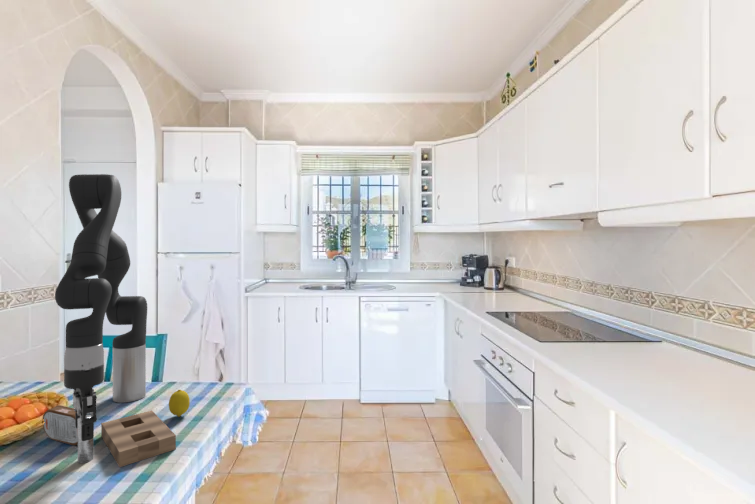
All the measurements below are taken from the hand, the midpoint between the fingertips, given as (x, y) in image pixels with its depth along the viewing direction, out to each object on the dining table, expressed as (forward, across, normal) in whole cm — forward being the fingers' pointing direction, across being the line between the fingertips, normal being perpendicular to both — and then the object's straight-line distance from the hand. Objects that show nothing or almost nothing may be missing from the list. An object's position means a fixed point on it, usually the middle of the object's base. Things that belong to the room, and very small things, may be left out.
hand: (84, 433), depth 95 cm
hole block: (+6, -1, +11) cm, 13 cm away
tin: (+7, -14, -2) cm, 16 cm away
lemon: (+6, -10, +24) cm, 27 cm away
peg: (+6, 0, 0) cm, 6 cm away
